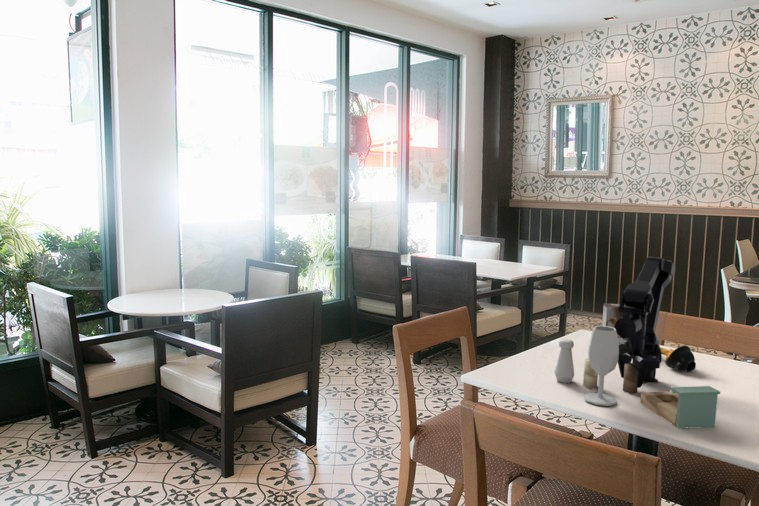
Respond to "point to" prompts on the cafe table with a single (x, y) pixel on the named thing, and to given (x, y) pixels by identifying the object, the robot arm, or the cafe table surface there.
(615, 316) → the coffee box
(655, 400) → the socket block
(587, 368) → the maple peg
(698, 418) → the teal l-shaped bracket
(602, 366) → the wineglass
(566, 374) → the salt shaker
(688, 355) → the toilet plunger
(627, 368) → the walnut peg
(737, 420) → the cafe table surface
